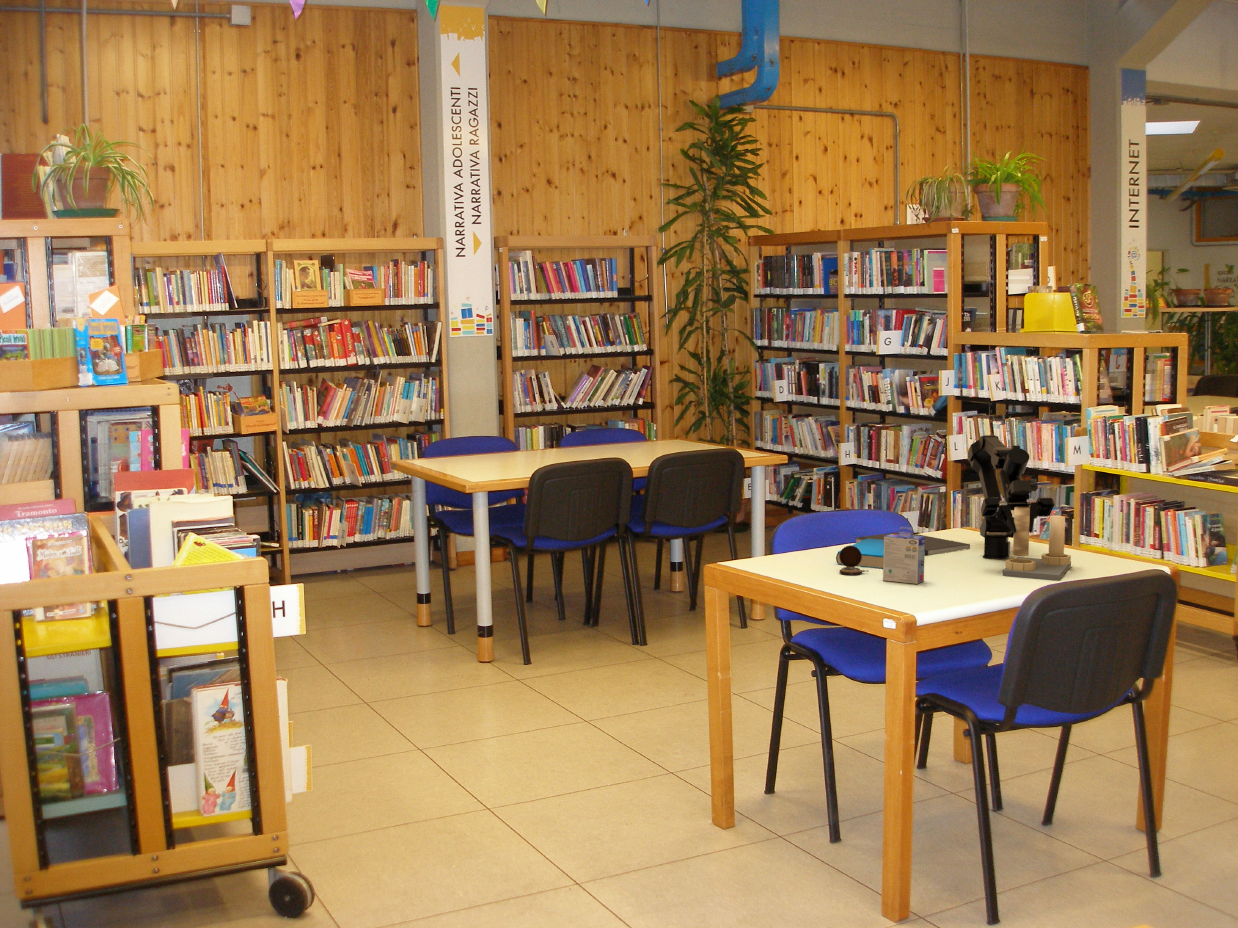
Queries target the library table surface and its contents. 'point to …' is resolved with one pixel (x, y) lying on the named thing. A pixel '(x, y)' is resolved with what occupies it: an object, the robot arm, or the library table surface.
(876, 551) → the book
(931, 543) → the notebook
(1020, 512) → the pin
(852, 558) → the compass
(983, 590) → the library table surface
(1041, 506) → the robot arm
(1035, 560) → the board
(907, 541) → the ink cartridge box
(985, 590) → the library table surface
